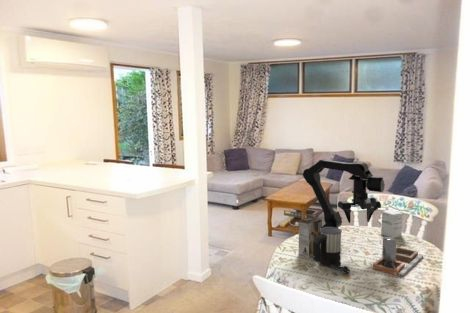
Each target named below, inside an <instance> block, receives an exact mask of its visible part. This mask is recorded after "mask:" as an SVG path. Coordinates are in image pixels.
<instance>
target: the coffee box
mask: <svg viewBox="0 0 470 313" xmlns="http://www.w3.org/2000/svg"><path fill="white" fill-rule="evenodd" d="M322 223H323V220H322V218H317V217H313V216H308V217H306V218H305V217H304V218H302V219H299V220H298V255H300V256H303V257H306V258H308V259H309V258H312V257H313V240H314V238H315V237H316V236H317V235H320V234H321V230H320V228H322V226H323V224H322Z"/></svg>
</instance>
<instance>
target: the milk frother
mask: <svg viewBox="0 0 470 313" xmlns="http://www.w3.org/2000/svg"><path fill="white" fill-rule="evenodd" d="M320 230H321V234H320V235H317V236H316V237H315V238H314V240H313V256H312V257H313V261H315V262H317V263H319V264H321V265H322V266H323V267H329V268H332V269H336V270H339V271H340V272H343V274H347V273H350V272H351V269H350V268H349V267H348V266H346V265H343V266H341V265H342V262H341V249H342V232H343V230H342V229H341V228H339V227H338V228H335V227H322V228H320Z"/></svg>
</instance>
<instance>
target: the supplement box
mask: <svg viewBox="0 0 470 313" xmlns="http://www.w3.org/2000/svg"><path fill="white" fill-rule="evenodd" d="M403 216H404V213H403V212H399V211H397V210H394V209H388V210H382V212H381V229H380V234H381V235H383V236H385V237H392V238H395V239H397V238H400V237H402V234H403V233H402V232H403V219H404V218H403Z"/></svg>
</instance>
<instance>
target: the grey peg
mask: <svg viewBox="0 0 470 313" xmlns="http://www.w3.org/2000/svg"><path fill="white" fill-rule="evenodd" d="M397 241H398V240H397V238H392V237H388V236H385V237H384V236H383V237H382V248H381V249H382V252H381V253H382V254H381V257H382V264H381V265H382V266H385V267H389V268H392V269H396V261H397V259H396V254H397V252H396V247H397Z"/></svg>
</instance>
